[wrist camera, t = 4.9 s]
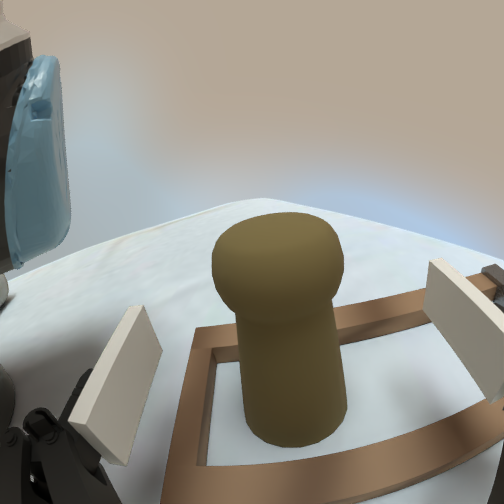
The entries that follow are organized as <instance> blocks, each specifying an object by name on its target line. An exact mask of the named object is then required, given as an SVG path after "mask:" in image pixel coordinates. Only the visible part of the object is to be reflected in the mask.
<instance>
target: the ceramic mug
mask: <svg viewBox="0 0 504 504" xmlns="http://www.w3.org/2000/svg"><path fill="white" fill-rule="evenodd" d="M8 291H9V288H8V283H7V280H6V278H5V275H4V274H1V275H0V307H1V306H2V305H3V303H4V302H5V300H6V298H7V296H8Z"/></svg>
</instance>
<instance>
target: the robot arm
mask: <svg viewBox="0 0 504 504" xmlns="http://www.w3.org/2000/svg"><path fill="white" fill-rule="evenodd" d="M61 89H62V88H61V82H60V65H59V61H58V59H57V58H56V57H55V56H45V55H40V56H39V57H37V58H35V59H34V58H33V56H32V48H31V39H30V32H29V31H28V30H26V29H24V28H22V27H20V26H18V25H16V24H14V23H12V22H10V21H8V20H6V18H5V15H4V13H3V0H0V275H1V274H3V273H5V272H8V271H10V270H13V269H17V270H18V269H20V268H21V267H22V266H23V265H24V263H25V262H27V261H29V260H31V259H33V258H35V257H37V256H39V255H41V254H44V253H46V252H48V251H50V250H52V249H54V248H56V247H57V246H58V245H60V244H61V243H62V241H63V240H64V238H65V237H66V235H67V233H68V231H69V227H70V222H71V205H70V204H71V203H70V192H69V181H68V170H67V160H66V147H65V135H64V120H63V104H62V90H61ZM422 310H423V311H424V312H425V313H426V315H427V316H428V317H429V319H430V320H431V321H432V322H433V324H434V325H435V326H436V328H437V329H438V330H439V331H440V333H441V334H442V335H443V337H444V338H445V339H446V341H447V342H448V344H449V345H450V346H451V348H452V349H453V350H454V352H455V353H456V355H457V356H458V357H459V359H460V360H461V362H462V363H463V364H464V366H465V367H466V369H467V370H468V372H469V373H470V375H471V376H472V378H473V379H474V381H475V382H476V384H477V385H478V387H479V388H480V390H481V391H482V393H483V394H484V396H485V397H486V399H487V401H488V402H489V404H492V403H494V402H496V401H497V400H499V399H501V398H502V397H504V307H503V306H501V305H499V304H497V303H492V302H491V301H490V300H489V299H488V298H487V297H486V296H485V295H484V294H483V293H482V292H481V291H480V290H478V289H477V288H476V287H475V286H474V285H473V284H472V283H471V282H470V281H468V280H467V279H466V278H465V277H464V276H463V275H462V274H460V273H459V272H458V271H457V270H456V269H455V268H453V267H452V266H451V265H450V264H449V263H447V262H446V261H445V260H444V259H443V258H438V259H434V260H429V267H428V275H427V283H426V290H425V297H424V303H423V309H422ZM162 351H163V350H162V348H161V346H160V344H159V341H158V339H157V337H156V334H155V332H154V330H153V327H152V325H151V323H150V320H149V318H148V315H147V313H146V310H145V308H144V305H139V306H129V308H128V309H127V311H126V313H125V314H124V316H123V318H122V319H121V321H120V323H119V324H118V326H117V328H116V330H115V331H114V333H113V335H112V337H111V338H110V340H109V342H108V344H107V345H106V347H105V349H104V351H103V353H102V354H101V356H100V358H99V360H98V362H97V364H96V365H95V367H94V369H88V370H87V371H86V372H85V373H84V374H83V375H82V376H81V377H80V379H79V381H78V383H77V385H76V388H75V389H74V390H73V392H72V396H70V398H69V400H68V402H67V404H66V406H65V408H64V410H63V412H62V414H61V416H60V418H59V420H57V419H56V418H55V417H54V416H53V415H52V413H51V412H50V411H49V410H47V409H46V408H37V409H34V410H32V411H31V412H30V413H29V414H28V415H27V416H26V417H25V419H24V422H23V429H24V430H25V431H26V432H27V433H28V434H29V435H26V434H25V433H24V432H23V431H22V430H21V429H19V428H18V427H12V428H9V429H8V430H7V428H8V425H9V423H10V420H11V416H12V413H13V408H14V401H15V391H14V386H13V383H12V380H11V379H10V377H9V376H8V374H7V373H6V371H5V370H4V369H3V367H2V366H1V364H0V504H122V502H121V501H120V499H119V497H118V495H117V493H116V492H115V490H114V488H113V486H112V484H111V482H110V480H109V478H108V476H107V474H106V472H105V470H104V468H103V466H102V465H101V464H100V463H99V461H100V458H101V456H102V457H103V458H104V459H105V460H106V461H107V462H108V463H110V464H115V465H121V466H127V464H128V460H129V457H130V453H131V449H132V446H133V442H134V439H135V436H136V432H137V429H138V426H139V422H140V419H141V416H142V412H143V409H144V406H145V403H146V400H147V396H148V393H149V390H150V387H151V384H152V381H153V378H154V375H155V372H156V369H157V366H158V363H159V360H160V357H161V354H162ZM502 410H503V411H504V406H503V409H502ZM30 474H31V475H32V476H33V477H34V482H32V481H30ZM487 504H504V443H503V448H502V453H501V457H500V462H499V466H498V470H497V474H496V477H495V481H494V484H493V488H492V491H491V494H490V497H489V500H488V503H487Z"/></svg>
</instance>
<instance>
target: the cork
mask: <svg viewBox="0 0 504 504" xmlns="http://www.w3.org/2000/svg"><path fill="white" fill-rule="evenodd" d="M343 272H344V255H343V252H342V248H341V245H340V242H339V238H338V235H337V234H336V232H335V231H334V230H333V228H332V227H331V226H330V224H328V223H327V222H326V221H324V220H323V219H321V218H318V217H316V216H313V215H310V214H306V213H297V212H283V213H273V214H266V215H261V216H257V217H253V218H250V219H247V220H244V221H242V222H239V223H237V224H235V225H233V226H232V227H230V228H229V229H227V230H226V231H225V232H224V233H223V234H222V235H221V236H220V237H219V238H218V240H217V241H216V244H215V247H214V249H213V252H212V277H213V280H214V284H215V288H216V290H217V292H218V294H219V295H220V297H221V299H222V300H223V302H224V303H225V304H226V305H227V306H228V308H229V309H230V310H232V311H233V312H234V313H235V316H236V328H237V340H238V351H239V362H240V373H241V384H242V394H243V404H244V413H245V418H246V423H247V424H248V426H249V427H250V429H251V430H252V432H253V433H254V434H255V435H256V436H258V437H259V438H260V439H262V440H263V441H265V442H266V443H269V444H273V445H276V446H280V447H304V446H307V445H311V444H314V443H318V442H320V441H321V440H323V439H324V438H326V437H328V436H329V435H331V434H332V433H333V432H334V431H335V430H336V429H337V428H338V426H339V425H340V424H341V423H342V422H343V419H344V416H345V414H346V411H347V397H346V388H345V381H344V373H343V366H342V359H341V352H340V346H339V339H338V333H337V327H336V321H335V316H334V310H333V304H332V298H333V297H334V296H335V295H336V293H337V291H338V288H339V286H340V283H341V279H342V276H343Z"/></svg>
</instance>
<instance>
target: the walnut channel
mask: <svg viewBox="0 0 504 504" xmlns="http://www.w3.org/2000/svg"><path fill="white" fill-rule="evenodd" d="M465 278H466V279H467V280H468V281H470V282H471V283H472V284H473V285H474V286H475V287H476V288H477V289H478V290H480V291H481V292H482V293H483V294H484V295H485V296H486V297H487V298H488V299H489V300H490V301H493V300H494V296H495V292H496V288H497V285H495V284H494V283H493V282H492V281H491V280H489V279H488V278H487V277H486V276H485V275H483V274H482V273H478V274H475V275H472V276H468V277H465ZM425 290H426V288H423V289H419V290H415V291H411V292H406V293H402V294H398V295H393V296H389V297H385V298H380V299H375V300H371V301H366V302H361V303H356V304H351V305H346V306H341V307H335V308H333V310H334V316H335V321H336V327H337V333H338V339H339V345H342V344H347V343H352V342H356V341H361V340H365V339H370V338H374V337H378V336H382V335H386V334H390V333H394V332H398V331H402V330H405V329H409V328H412V327H416V326H419V325H423V324H426V323H430V322H432V321H431V320H430V319H429V317H428V316H427V315H426V313H425V312H424V311H423V310H422V309H423V303H424V297H425ZM232 361H239V351H238V340H237V328H236V323H233V324H225V325H217V326H208V327H198V328H196V329H195V334H194V338H193V342H192V346H191V351H190V355H189V360H188V364H187V368H186V373H185V377H184V382H183V386H182V391H181V396H180V400H179V405H178V410H177V415H176V420H175V425H174V430H173V435H172V440H171V445H170V450H169V455H168V461H167V466H166V471H165V477H164V483H163V488H162V494H161V500H160V504H354V503H358V502H362V501H366V500H369V499H373V498H376V497H380V496H383V495H386V494H389V493H392V492H395V491H398V490H401V489H404V488H406V487H409V486H412V485H414V484H417V483H419V482H422V481H424V480H427V479H429V478H431V477H434V476H436V475H438V474H440V473H442V472H445V471H447V470H449V469H451V468H453V467H455V466H457V465H459V464H461V463H463V462H465V461H467V460H468V459H470V458H472V457H474V456H476V455H477V454H479V453H481V452H483V451H484V450H486V449H488V448H489V447H491V446H493V445H494V444H496V443H497V442H499V441H500V440H502V439H503V438H504V411H503V410H502V409H503V406H504V397H502V398H501V399H499V400H497V401H496V402H494V403H492V404H489V402H488V401H487V399H484V400H482V401H480V402H478V403H476V404H474V405H472V406H470V407H468V408H466V409H464V410H462V411H460V412H458V413H456V414H454V415H451V416H449V417H447V418H445V419H442V420H440V421H438V422H435V423H433V424H430V425H428V426H425V427H423V428H420V429H417V430H415V431H412V432H409V433H406V434H403V435H400V436H397V437H394V438H391V439H388V440H385V441H381V442H378V443H374V444H371V445H367V446H364V447H360V448H356V449H352V450H347V451H343V452H339V453H334V454H329V455H324V456H318V457H313V458H307V459H300V460H293V461H286V462H277V463H268V464H256V465H240V466H206V461H207V450H208V440H209V430H210V421H211V411H212V402H213V393H214V384H215V375H216V367H217V363H222V362H232Z"/></svg>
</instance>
